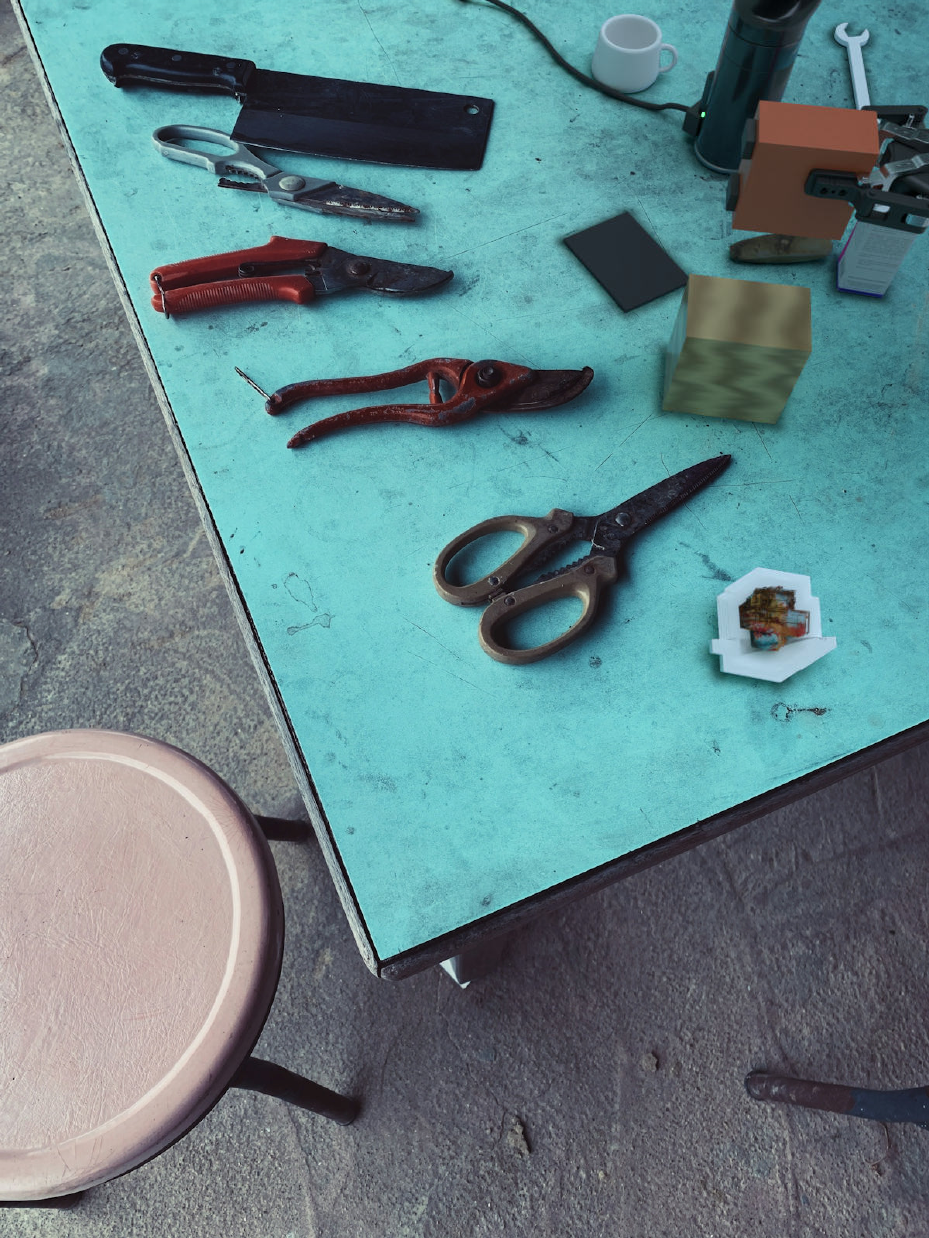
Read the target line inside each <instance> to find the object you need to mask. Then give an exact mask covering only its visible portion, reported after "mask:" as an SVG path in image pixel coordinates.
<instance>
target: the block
mask: <svg viewBox="0 0 929 1238" xmlns="http://www.w3.org/2000/svg"><path fill="white" fill-rule="evenodd" d="M879 154H880V153H879V139H878V124H877V112H876V111H866V110H857V109H856V108H844V107H833V106H823V105H813V104H802V103H793V102H783V101H781V102H773V101H762V100H760V101H759V104H758V107H757V111H756V114H755V117H754V119H747V121H746V124H745V128H744V131H743V134H742V149H741V159H742V160H741V163H740V167H739V170H738V173H731V174H729V179H728V182H727V185H726V189H725V211H726V212H731V227H730V228H731V230H737V231H745V232H756V233H765V234H783V235H792V236H802V237H811V238H820V239H830V240H831V241H832V240H833V241H842V238H843V236H844V234H845V232H846V230H847V227H848V225H849V223H850V221H851V219H852V216H853V215H854V211H856V209H855V208H854V207H852V206H850V205H848V203H847V201H845V200H836V199H829V198H828V199H826V198H817V197H814V196H811V195H806V194H805V193H804V185H805V182H806V179H807V177H808V174H809V172H810V171H811V170H812V169H814V168H820V169H830V170H840V171H850V172H855V177H856V178H857V176H858V175H859V174H861V173H866V172H872V171H874V170H873V169H874V167H875V166H874V165H875V163H876V161H877V159H878V156H879Z"/></svg>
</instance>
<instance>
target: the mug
mask: <svg viewBox="0 0 929 1238" xmlns="http://www.w3.org/2000/svg"><path fill="white" fill-rule="evenodd" d="M662 51H668V52H669V53H671V56H672V60H671V61H670V63H669V64H668V65H666V66H661V55H662ZM678 62H679V51H678V49H677V48H676V46H674V45H672V44H670V43H663V33H662V30H661V28H660V26H659V24H657V23H656V21H654V20H652V19H651V18H649V17H646V16H643V15H639V14H634V13H622V14H617V15H614V16H610V18H607V19H605V21H604V22H603V23H602V24H601V27H600V29H599V32H598V36H597V38H596V43H595V47H594V51H593V55H592V59H591V73H592V76H593V78H594V79H595V81H596V82H598V83H600V84H602V85H604V86H607V87H609V88H611V89H613V90H615V91H617V92H620V93H622V94H631V93H638V92H642V91H644V90H646V89H648V88H649V87H650V86H652V85H653V83H655V81H657V78H658V75H659V74H661V75H662V74H666V73H669V72H671V71H672V70H673V69H674V68H675V67H676V66H677V65H678Z"/></svg>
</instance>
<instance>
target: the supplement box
mask: <svg viewBox="0 0 929 1238" xmlns="http://www.w3.org/2000/svg"><path fill="white" fill-rule="evenodd" d="M889 208H890V207H888V206H879V207H875V206H874V209H873V210H876V211H880V212H887V211H888V210H889ZM918 236H919V234H915V233H910V232H906V231H901V230H896V229H892V228H887V227H882V226H878V225H873V224H869V223H864V222H860V221H858V220H856V223H855V225H854V226H853V229H852V231H851V233H850V235H849V237H848V239H847V240H846V242H845V244H844V246H843V249H842V251H841V252H840V255H839V256H838V258H837V266H836V267H837V268H836V291H837V292H842V293H848V294H854V295H855V294H856V295H861V296H868V297H873V298H879V299H880V298H883V296H884V295H885V293H886V291H887V290H888V288H889V286H890V284H891V283H892V281H893V279H894V277H895V276H896V274H897V272H898V270H899V269H900V267H901V265H902V264H903V262H904V260H905V259H906V257H907V255H908V253H909V252H910V250H911V248H912V246H913V245H914V242H916V240H917V237H918Z"/></svg>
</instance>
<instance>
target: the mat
mask: <svg viewBox="0 0 929 1238" xmlns="http://www.w3.org/2000/svg"><path fill="white" fill-rule="evenodd" d="M562 242H563V243H564V245H565V246H566V247H567V248H568V249H569V250H570V251H571V253H572V254H573V255H574V257H576V259H578V261H580V263H582V265H583V266H584V267H585V269H586V270H587V271H588V272H589V273H590V275H592V277H593V278H594V279H595V280H596V281H597V282H598V283H599V285H600V286H601V287H602V288H603V289H604V290H605V292H607V294H608V295H609V296H610V297H611V298H612V299H613V300H614V302H615V303H616V304H617V305H618V306H619V307H620V309H621V310H622V311H623V312H624V313H626V314H627V313H629V312H630V311H633V310H635V309H637V308H639V307H642V306H644V305H646V304H648V303H651V302H652V301H655V300H657V299H659V298H661V297H663V296H665V295H668V294H670V293H672V292H674V291H676V290H679V289H681V288H683V287H686V284H687V280H688V277H689V275H688V274H687V273H686V272H685V271H684V270H683V269H682V268H681V267H680V266H679V265H678V263H676V262H675V260H674V259H672V258H671V255H669V254H668V253H667V251H665V250H664V249H663V248H662V247H661V246H660V244H659V243H658V242H657V241H656V240H655V239H654V238H653V237H652V236H651V235H650V234H649V233H648V231H646V230H645V229H644V227H643V226H642V225H641V224H640V223H639V222H638V221H637V220H636V219H635V218H634V217H633V216H632V215H631V214H630V212H628V211H625V212H623V213H621V214H618V215H615V216H613V217H611V218H608V219H606V220H604V221H601V222H599V223H597V224H595V225H592V226H589V227H588V228H586V229H583V230H581V231H578V232H576V233H574V234H571V235H569V236H565V238H563V239H562Z"/></svg>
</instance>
